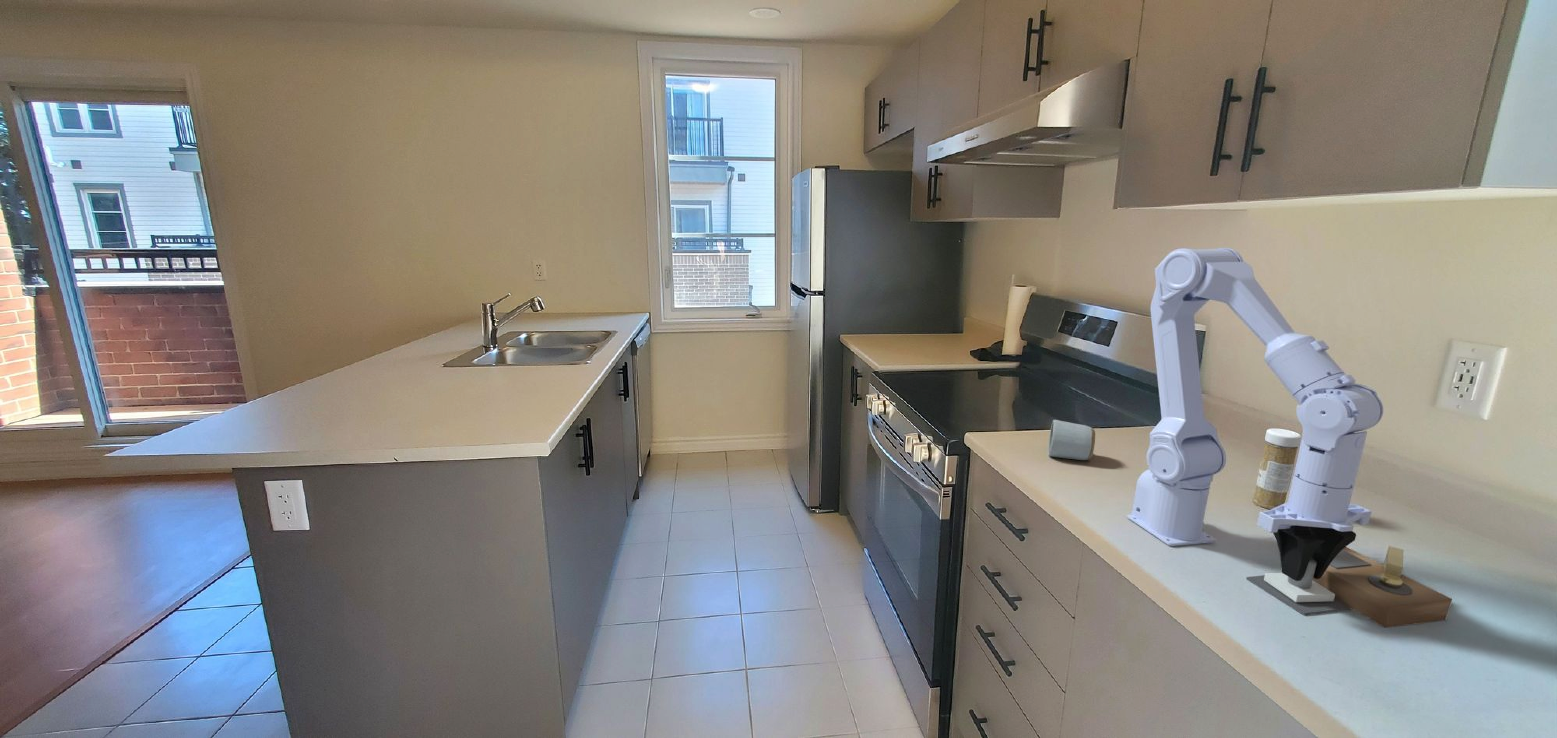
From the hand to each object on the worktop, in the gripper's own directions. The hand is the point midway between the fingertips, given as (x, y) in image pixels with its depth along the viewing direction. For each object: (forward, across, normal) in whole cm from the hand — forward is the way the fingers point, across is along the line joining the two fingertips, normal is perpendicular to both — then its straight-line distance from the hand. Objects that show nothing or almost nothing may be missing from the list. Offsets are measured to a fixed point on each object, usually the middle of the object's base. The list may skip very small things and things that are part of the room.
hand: (1300, 575), depth 79 cm
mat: (+3, 0, 0) cm, 3 cm away
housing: (+3, +8, -1) cm, 9 cm away
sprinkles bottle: (+3, +20, +23) cm, 31 cm away
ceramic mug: (+3, 0, +50) cm, 50 cm away
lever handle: (-1, +11, -3) cm, 11 cm away
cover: (+2, 0, 0) cm, 2 cm away
